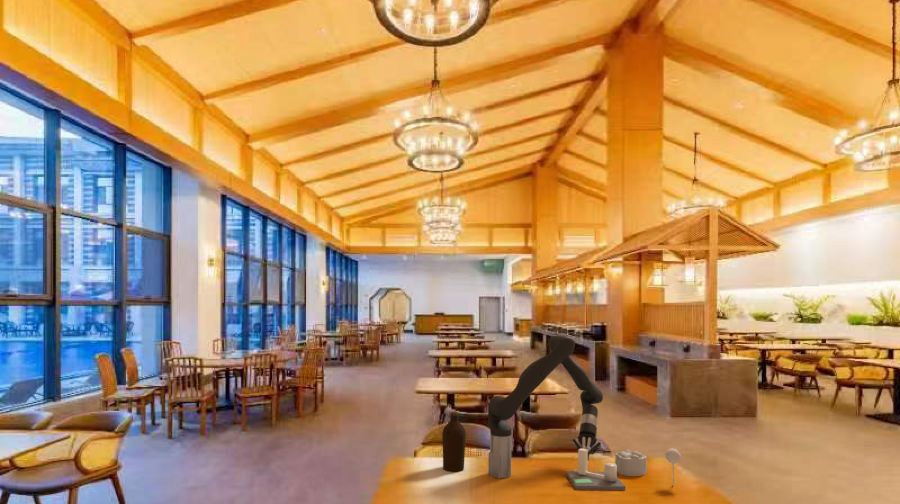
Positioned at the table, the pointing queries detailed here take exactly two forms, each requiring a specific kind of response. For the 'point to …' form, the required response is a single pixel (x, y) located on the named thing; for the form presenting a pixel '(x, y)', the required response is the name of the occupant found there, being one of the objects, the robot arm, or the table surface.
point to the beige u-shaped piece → (609, 473)
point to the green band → (582, 480)
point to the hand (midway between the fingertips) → (585, 461)
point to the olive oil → (453, 445)
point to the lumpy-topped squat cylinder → (631, 463)
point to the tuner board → (594, 482)
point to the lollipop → (673, 457)
